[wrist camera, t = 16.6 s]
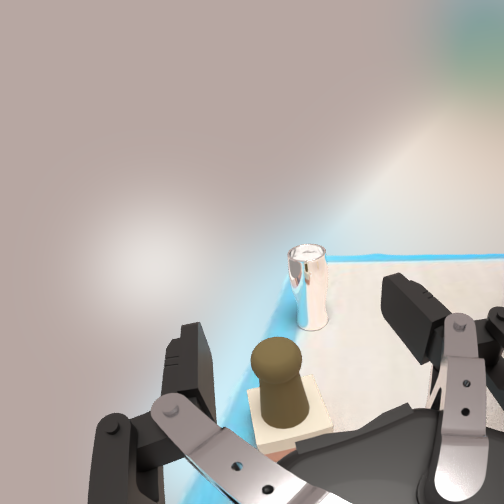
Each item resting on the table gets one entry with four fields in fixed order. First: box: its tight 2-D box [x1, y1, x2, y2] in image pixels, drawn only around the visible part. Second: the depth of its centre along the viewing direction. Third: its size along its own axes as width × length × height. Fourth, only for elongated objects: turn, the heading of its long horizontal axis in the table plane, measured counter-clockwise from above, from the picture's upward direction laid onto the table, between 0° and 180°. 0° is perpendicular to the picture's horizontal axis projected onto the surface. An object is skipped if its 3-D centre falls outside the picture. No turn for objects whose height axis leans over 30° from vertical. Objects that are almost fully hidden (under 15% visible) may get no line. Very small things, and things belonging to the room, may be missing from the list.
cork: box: [251, 337, 310, 429], centre depth 30 cm, size 6×6×11 cm
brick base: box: [247, 374, 333, 462], centre depth 34 cm, size 9×9×6 cm
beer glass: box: [288, 244, 328, 331], centre depth 53 cm, size 7×7×15 cm
